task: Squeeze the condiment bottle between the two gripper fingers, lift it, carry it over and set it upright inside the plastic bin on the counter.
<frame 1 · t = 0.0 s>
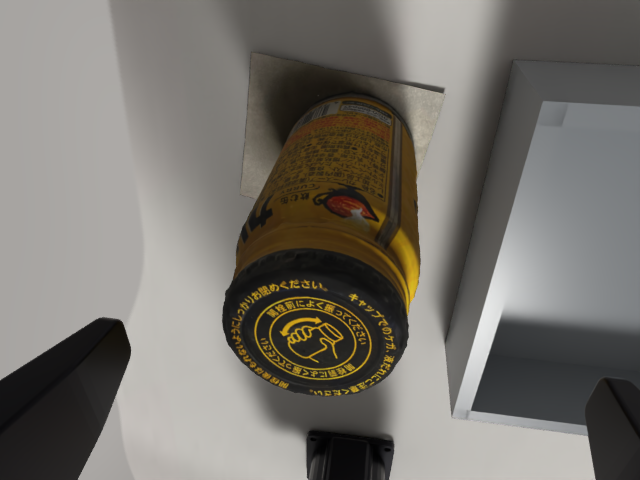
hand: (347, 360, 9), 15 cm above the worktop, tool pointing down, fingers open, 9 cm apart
condiment: (333, 145, 23), on the worktop
bin: (625, 245, 23), on the worktop
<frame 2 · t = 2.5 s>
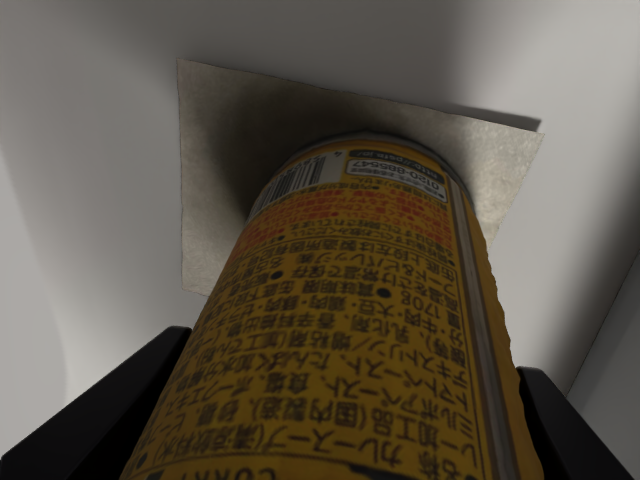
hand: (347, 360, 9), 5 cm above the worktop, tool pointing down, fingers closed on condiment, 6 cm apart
condiment: (333, 217, 13), on the worktop, touching gripper
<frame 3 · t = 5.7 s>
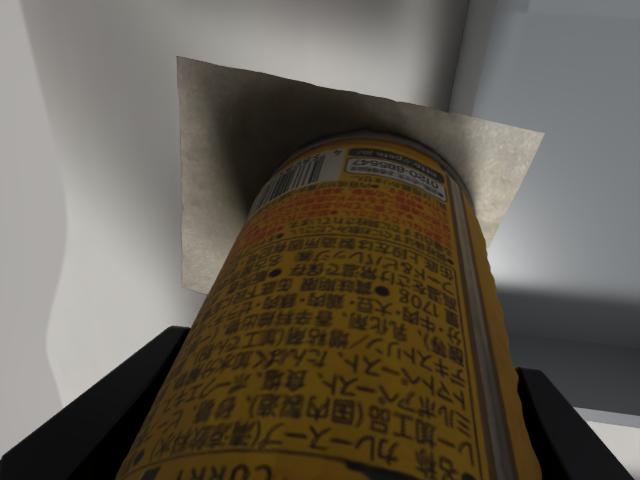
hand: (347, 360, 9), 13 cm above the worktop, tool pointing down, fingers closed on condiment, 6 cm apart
condiment: (333, 216, 13), point 8 cm above the worktop, touching gripper
bin: (610, 196, 20), on the worktop
when the fingers open (7 cm above the worktop, at t = 8.9 s): condiment stays where it is, resting on bin.
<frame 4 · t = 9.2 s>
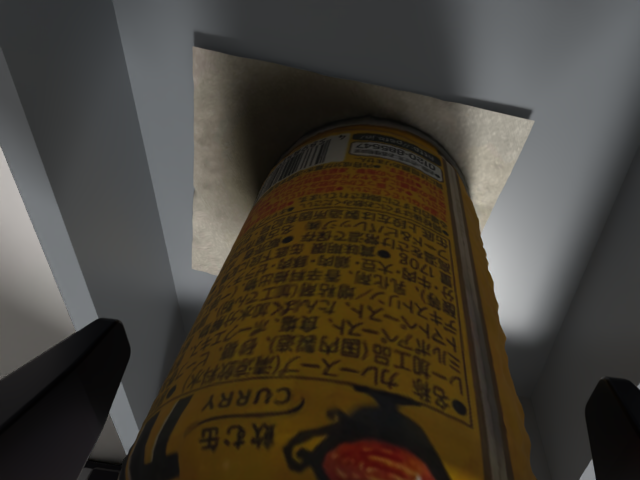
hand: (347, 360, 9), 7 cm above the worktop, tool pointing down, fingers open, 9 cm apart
condiment: (336, 199, 14), point 1 cm above the worktop, touching bin
bin: (369, 187, 14), on the worktop
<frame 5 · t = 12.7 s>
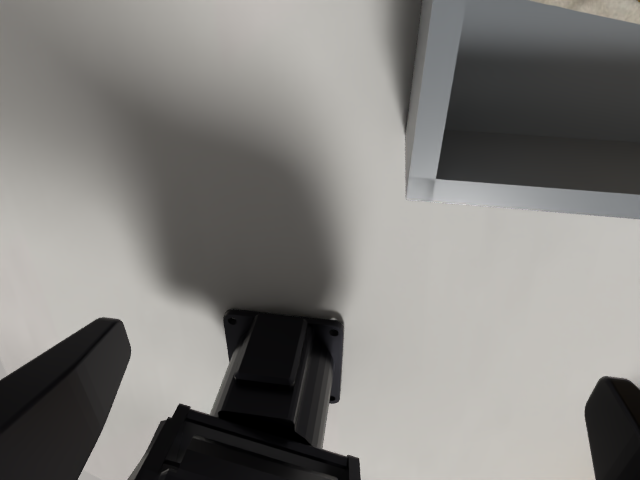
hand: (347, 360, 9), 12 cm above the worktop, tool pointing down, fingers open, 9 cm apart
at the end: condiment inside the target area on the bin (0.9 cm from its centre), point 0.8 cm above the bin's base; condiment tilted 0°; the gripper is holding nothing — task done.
